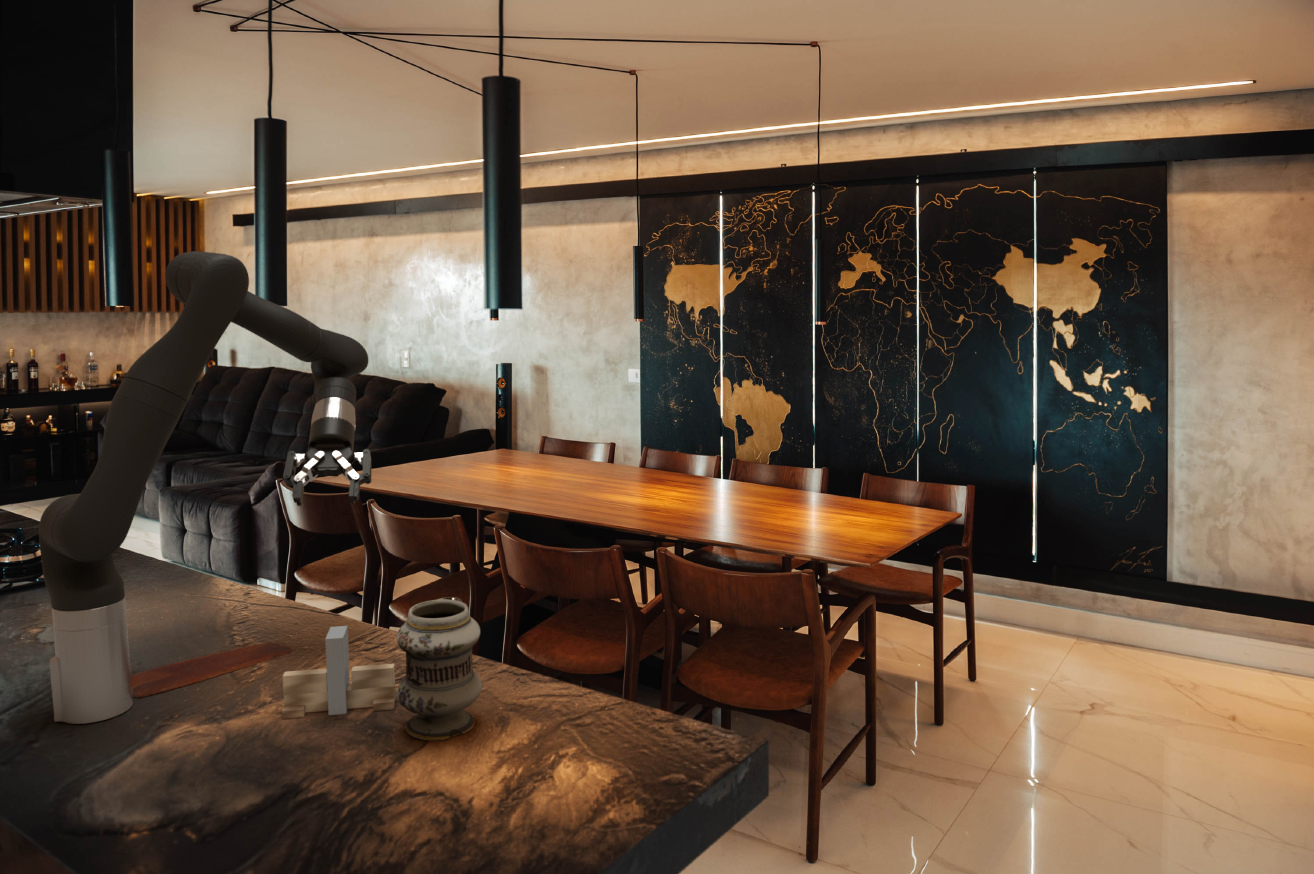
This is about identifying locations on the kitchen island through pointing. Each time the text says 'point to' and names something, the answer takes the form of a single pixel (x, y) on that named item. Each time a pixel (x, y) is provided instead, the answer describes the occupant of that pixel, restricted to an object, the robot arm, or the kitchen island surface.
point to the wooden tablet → (202, 668)
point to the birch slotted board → (366, 690)
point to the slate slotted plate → (337, 669)
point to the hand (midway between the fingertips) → (325, 502)
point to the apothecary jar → (439, 669)
